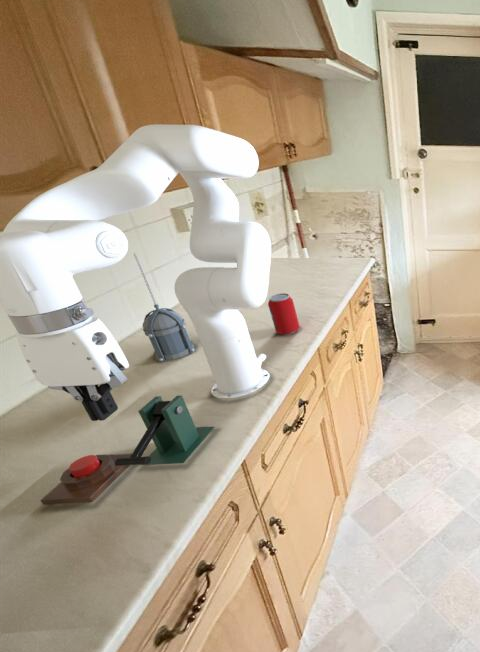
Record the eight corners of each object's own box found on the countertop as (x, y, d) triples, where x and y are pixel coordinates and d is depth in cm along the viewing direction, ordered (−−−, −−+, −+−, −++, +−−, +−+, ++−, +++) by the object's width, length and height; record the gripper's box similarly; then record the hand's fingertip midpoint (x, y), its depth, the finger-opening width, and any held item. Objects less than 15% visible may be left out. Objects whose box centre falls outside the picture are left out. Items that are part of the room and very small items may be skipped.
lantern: (206, 342, 120) (170, 246, 107) (181, 362, 110) (138, 259, 97) (170, 342, 119) (130, 247, 107) (141, 362, 110) (93, 259, 97)
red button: (85, 462, 73) (81, 455, 73) (106, 461, 74) (102, 454, 73) (67, 478, 70) (62, 471, 69) (88, 477, 70) (84, 470, 70)
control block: (96, 463, 78) (87, 448, 76) (139, 461, 78) (131, 446, 77) (46, 509, 69) (34, 492, 67) (95, 506, 69) (85, 490, 68)
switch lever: (150, 466, 71) (141, 461, 69) (120, 468, 70) (111, 462, 69) (184, 406, 79) (177, 400, 77) (158, 407, 79) (150, 401, 77)
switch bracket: (186, 467, 77) (163, 419, 72) (142, 469, 77) (117, 421, 72) (216, 430, 86) (199, 386, 81) (178, 432, 86) (157, 387, 81)
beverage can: (285, 325, 130) (276, 291, 125) (304, 326, 129) (296, 293, 124) (271, 335, 124) (261, 300, 119) (291, 336, 123) (281, 302, 118)
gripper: (127, 304, 62) (169, 398, 70) (23, 307, 61) (77, 403, 69) (85, 326, 56) (136, 428, 63) (-33, 331, 54) (34, 433, 62)
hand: (105, 414), depth 66 cm, fingers closed
